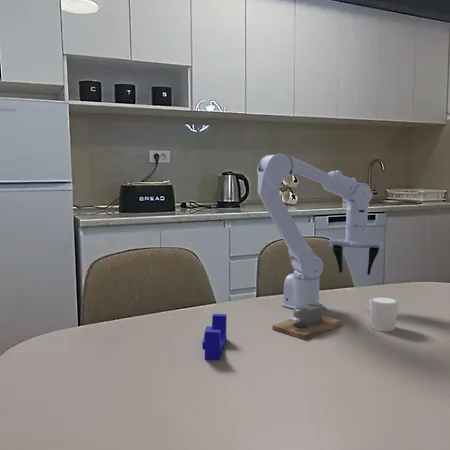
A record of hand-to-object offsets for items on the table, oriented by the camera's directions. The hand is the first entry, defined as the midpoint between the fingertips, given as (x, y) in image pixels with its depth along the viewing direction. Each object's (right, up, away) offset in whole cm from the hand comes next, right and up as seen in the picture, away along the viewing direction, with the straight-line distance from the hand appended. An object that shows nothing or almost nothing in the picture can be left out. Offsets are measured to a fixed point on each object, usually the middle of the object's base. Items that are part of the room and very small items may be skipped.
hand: (354, 272), depth 131 cm
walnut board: (-16, -11, -18) cm, 27 cm away
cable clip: (-39, -13, -32) cm, 52 cm away
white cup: (+2, -12, -18) cm, 21 cm away
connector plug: (-16, -10, -18) cm, 27 cm away
